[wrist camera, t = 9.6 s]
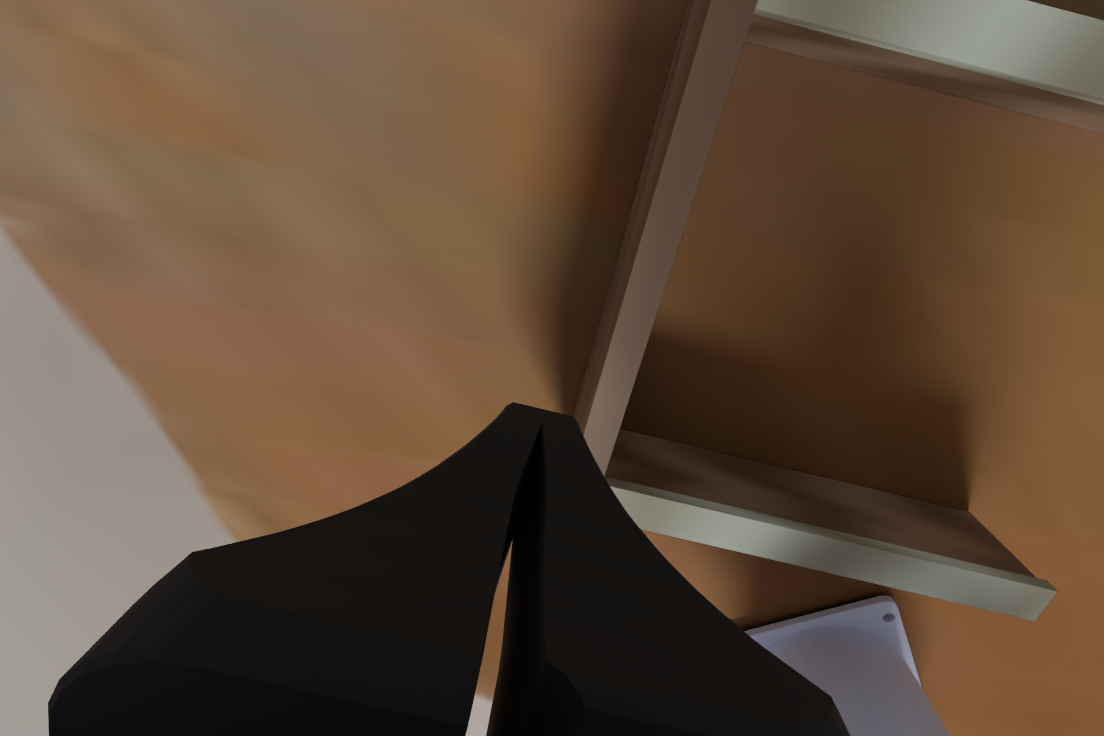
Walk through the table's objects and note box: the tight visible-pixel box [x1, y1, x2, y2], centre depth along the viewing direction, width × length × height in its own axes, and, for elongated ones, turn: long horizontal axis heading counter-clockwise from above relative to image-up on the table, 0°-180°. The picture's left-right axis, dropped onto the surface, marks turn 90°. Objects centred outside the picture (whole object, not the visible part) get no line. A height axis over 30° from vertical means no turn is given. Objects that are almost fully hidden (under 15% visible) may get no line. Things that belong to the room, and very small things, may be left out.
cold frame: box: [573, 0, 1104, 621], centre depth 17 cm, size 17×16×5 cm
